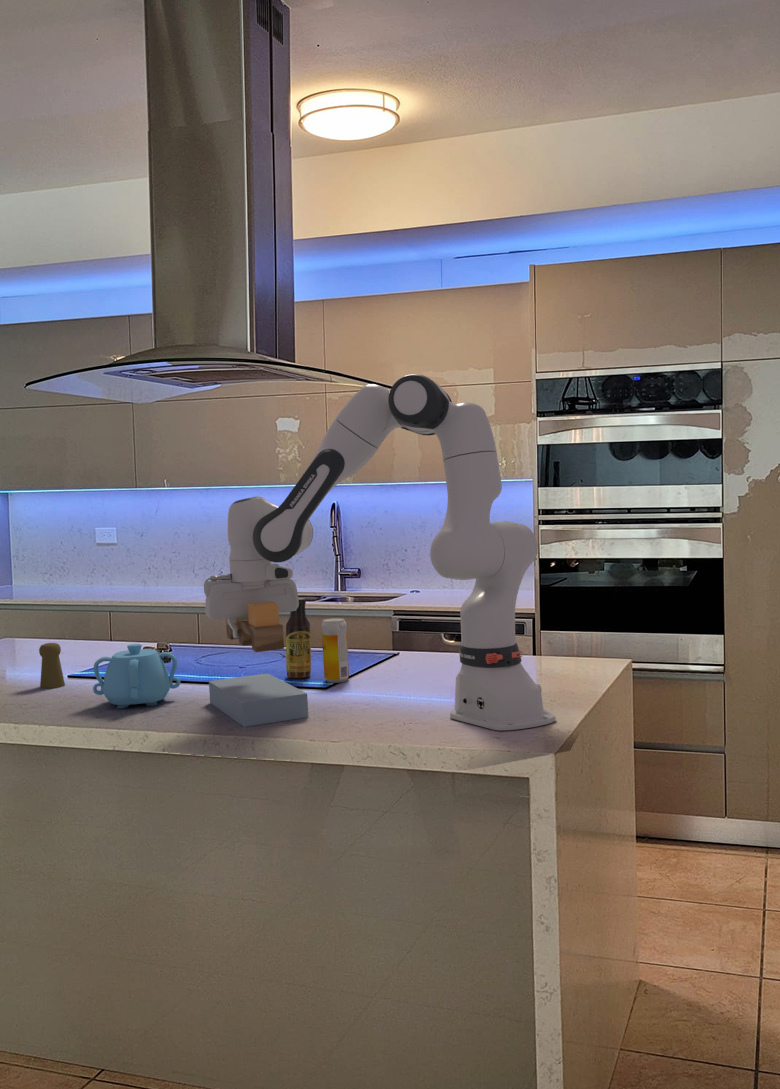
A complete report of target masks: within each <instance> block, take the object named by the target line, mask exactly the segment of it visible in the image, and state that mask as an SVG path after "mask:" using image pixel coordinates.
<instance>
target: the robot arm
mask: <svg viewBox="0 0 780 1089" xmlns="http://www.w3.org/2000/svg"><path fill="white" fill-rule="evenodd" d="M398 428H400V429H403V430H405V431H408V432H412V433H415V434H418V435H422V436H434V435H436V437H437V439H438V440H439V441H438V442H439V444H440V449H441V454H442V461H443V462H442V463H443V469H444V475H445V482H446V491H447V504H446V505H447V507H446V513H445V517H444V521H443V524H442V526H441V528H440V530H439V531H438V532H437V534H436V535H435V536H434V537H433V540H432V541H431V544H430V550H429V554H430V555H429V556H430V561H431V564H432V566H433V568H434V570H435V571H436V572H437V574H438V575H440V576H441V577H442V578H445V579H451V580H460V581H467V580H475V582H474V586H473V589H472V591H471V593H470V594H469V596H468V597H467V598H466V599H465V600H464V602H463V603H462V605H461V607H460V610H459V611H460V612H459V614H460V633H461V634H460V635H461V637H460V638H461V644H460V645H459V651H458V654H459V662H460V663H461V666H460V669H459V672H458V674H457V675H456V676H455V689H454V690H455V692H454V709H453V710H452V711H451V712H449V713H450V714H449V719H452V720H456V721H459V722H464V723H468V724H471V725H475V726H479V727H482V728H485V729H489V730H493V731H516V730H523V729H529V728H531V729H532V728H536V727H541V726H544V725H545V726H546V725H548V724H551V723H554V722H556V721H557V720H556V715H555V714H553V713H551V712H549V711H547V710H546V709H544V704H543V695H542V687H541V685H540V683H536V682H535V681H534V679H532V677H531V676H530V675H529V673H528V672H527V670H526V669H525V668H524V665H522V663H521V662H522V657H523V655H521V654H522V653H523V651H522V650H521V651H520V649H519V645H518V643H517V641H516V604H517V600H518V593H519V589H520V586H521V585H522V584H521V583H522V580H523V578H524V575H525V574H526V573H527V570H528V569H529V567H530V566H531V565H532V564H533V563H534V561H535V559H536V557H537V554H538V542H537V538H536V536H535V535H536V534H535V533H534V532H533V530H532V529H531V528H530V527H529V526H527V525H525V524H522V523H517V522H512V521H507V520H506V521H505V520H504V521H495V522H491V521H490V517H491V511H492V510H491V509H492V506H493V503H494V501H495V500H496V499H498V497H499V496H500V495H501V493H502V488H503V487H502V486H503V484H502V478H501V477H502V476H501V472H500V465H499V458H498V453H497V448H496V443H495V438H494V434H493V431H492V427H491V424H490V420H489V418H488V415H487V413H486V411H485V409H484V408H483V406H480V405H479V404H477V403H474V402H473V403H472V402H458V403H455V402H453V401H452V399H451V397H450V395H449V394H448V393H447V392H446V391H445V389H444V388H443V387H442V386H441V385H440V384H439V383H437V381H434V380H432V379H431V378H430V377H428V376H425V375H423V374H420V373H419V374H418V373H414V374H412V373H410V374H407V375H404V376H402V377H400V378H398V379H397V380H396V381H395V382H394V383H393V384H392V386H391V388H390V390H389V389H388V388H386V387H384V386H382V385H379V384H375V383H368V384H365V385H364V386H362V387H361V388H360V389H359V390H358V391H357V392H355V394H354V395H353V396H352V397H351V398H350V399H349V401H348V402H347V403H346V404H344V406H343V408H342V409H341V410H340V411H339V413H338V414H337V415H336V417H335V419H334V420H333V422H332V423H331V424H330V426H329V428H328V430H327V431H326V433H325V434H324V437H323V439H322V440H321V443H320V445H319V446H318V449H317V450H316V453H315V454H314V456H313V458H312V459H311V461H310V463H309V466H307V469H306V470H305V471H304V473H303V474H302V476H301V477H300V478H299V480H298V481H297V483H296V484H295V485H294V487H293V488H292V489H291V491H290V492H289V493H288V495H287V496H286V498H285V499H284V500H283V502H282V503H281V504H280V505H276V504H275V503H272V502H270V501H269V500H268V499H266V498H264V497H263V496H259V495H257V496H252V497H247V498H242V499H238V500H235V501H234V502H233V503H231V504H230V506H229V508H228V511H227V512H228V513H227V540H228V543H229V547H230V548H229V549H230V553H229V558H228V559H229V564H228V565H229V573H227V574H220V575H216V574H215V575H210V576H209V578H207V579H206V580H205V581H204V583H203V591H204V592H203V593H204V594H205V606H204V608H205V610H204V612H205V615H206V617H207V618H208V619H210V620H223V619H226V618H227V623H228V624H229V625H230V627H231V628H232V629H233V637H234V638H241V637H242V634H241V633H242V631H241V629H237V628H236V626H235V625H234V623H233V622H236V617H242V616H248V603H255V602H265V601H272V602H275V603H278V615H279V616H280V613H288V612H290V611H296V610H297V608H298V606H299V600H298V598H299V594H298V593H299V592H298V588H297V584H296V582H295V581H294V580H293V579H292V578H293V576H294V571H293V569H291V568H290V567H287V566H283V565H279V564H277V563H283V562H287V561H288V560H290V559H292V558H293V557H294V556H296V555H299V554H300V553H302V552H304V551H305V550H306V549H308V547H309V546H310V545H311V543H312V542H313V538H314V529H313V527H314V526H313V525H312V522H311V521H310V519H311V517H312V516H313V514H314V513H315V512H316V510H317V508H318V507H319V506H320V505H321V503H322V502H323V500H324V499H325V498H326V496H327V495H328V494H329V493H330V492H331V490H332V489H334V488H335V487H336V486H337V485H338V484H340V483H341V482H344V480H346V479H348V478H350V477H352V476H354V475H355V474H357V473H358V472H360V470H362V469H363V468H364V467H365V465H367V463H368V462H369V461H370V460H372V458H373V457H374V455H375V454H376V453H377V451H378V449H379V448H380V447H381V445H382V444H383V442H384V441H385V439H387V437H388V435H390V433H392V432H393V431H394V430H396V429H398Z"/></svg>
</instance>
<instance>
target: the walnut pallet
mask: <svg viewBox="0 0 780 1089" xmlns="http://www.w3.org/2000/svg"><path fill="white" fill-rule="evenodd" d="M225 623H226V624H225V625H226V627H225V628H226V639H228V640H231V641H232V640H238V644H239V645H240V646H243V647H244V646H251V650H252V651H253V652H255V653H261V652H269V651H277V650H284V649H285V644H284V642H285V640H284V625H283V624H282V623H279V625H272V626H263V627H254V626H252V625H249V618H238V619H236V622H233V623H234V625H235V626H236V628H237V629H241V631H242V633H241V634H242V637H241V638H234V637H233V629H232V628H231V627H230V625H229V624H228V623H227V618H225Z"/></svg>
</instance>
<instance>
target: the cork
mask: <svg viewBox="0 0 780 1089" xmlns="http://www.w3.org/2000/svg"><path fill="white" fill-rule="evenodd" d="M61 650H62V647H61V645H60V644H59V643H57V642H48V643H47V642H46V643H43V644H41V645H40V646H39V649H38V651H39V656H40V657H41V668H40V682H39V684H40V685H39V688H40V689H42V690H43V689H44V690H51V689H58V688H63V687H65V686H66V683H65V679H64V673H63V670H62V664H61V661H60V654H61V652H62V651H61Z"/></svg>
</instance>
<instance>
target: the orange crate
mask: <svg viewBox="0 0 780 1089" xmlns="http://www.w3.org/2000/svg"><path fill="white" fill-rule="evenodd" d="M248 618H249V625H252V626H254V627H263V626H272V625H279V624H280V620H279V618H280V614H279V615H278V603H275V602H272V601H265V602H255V603H248Z"/></svg>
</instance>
